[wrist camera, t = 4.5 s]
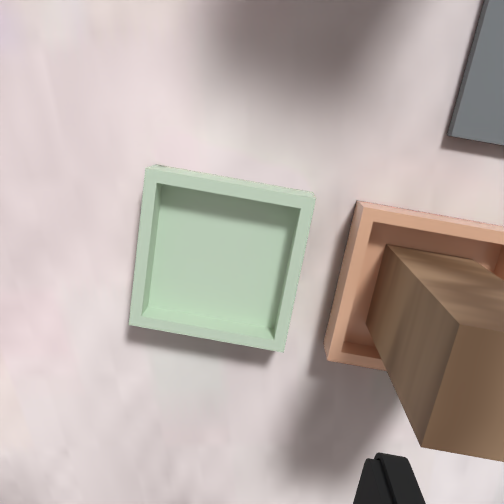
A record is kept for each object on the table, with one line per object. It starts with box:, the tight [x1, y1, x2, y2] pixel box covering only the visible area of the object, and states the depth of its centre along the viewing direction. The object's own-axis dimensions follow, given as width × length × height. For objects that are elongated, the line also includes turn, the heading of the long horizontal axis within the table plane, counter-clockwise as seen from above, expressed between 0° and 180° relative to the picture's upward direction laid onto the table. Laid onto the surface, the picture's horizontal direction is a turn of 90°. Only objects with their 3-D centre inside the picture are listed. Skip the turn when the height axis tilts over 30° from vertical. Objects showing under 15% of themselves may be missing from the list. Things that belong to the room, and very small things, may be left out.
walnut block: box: [366, 244, 504, 462], centre depth 20 cm, size 4×4×10 cm
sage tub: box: [129, 165, 316, 353], centre depth 24 cm, size 8×8×2 cm
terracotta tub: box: [323, 200, 504, 371], centre depth 24 cm, size 8×8×2 cm
